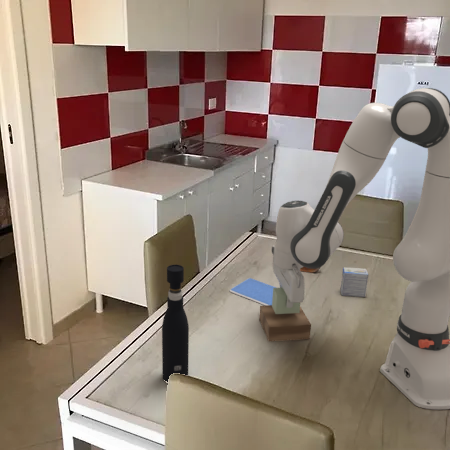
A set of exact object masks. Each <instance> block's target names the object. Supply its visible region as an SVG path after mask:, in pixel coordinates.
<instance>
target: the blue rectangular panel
mask: <svg viewBox="0 0 450 450" xmlns="http://www.w3.org/2000/svg"><path fill="white" fill-rule="evenodd" d="M273 288H278V287H276V286H274V285H270V284H267V283H266V282H263V281H260V280H257V279H254V278H251V277H248V278H246V279H245V280H243V281H242V282H240V283H239V284H237V285H235V286H233V287H232V288H230V289H229V293H231V294H234V295H237V296H240V297H242V298H245V299H248V300H249V301H252V302H255V303H258V304H260V305H261V306H266V305H272V298H273Z"/></svg>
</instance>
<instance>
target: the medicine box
mask: <svg viewBox="0 0 450 450" xmlns="http://www.w3.org/2000/svg"><path fill="white" fill-rule="evenodd" d="M368 281H369V273H368V270H367V268H360V267H347V266H346V267H342V274H341V280H340V294H341V296H346V297H359V298H361V297H362V298H366V297H367V296H366V295H367V287H368Z"/></svg>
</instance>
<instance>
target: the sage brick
mask: <svg viewBox="0 0 450 450" xmlns="http://www.w3.org/2000/svg"><path fill="white" fill-rule="evenodd" d="M286 300H287V295H286V293H285V292H284V290H283V288H280V287H277V288H273V298H272V308H273V310H274V312H275V314H288V313H300V307H301V303H293V307H292V308H287V306H286Z"/></svg>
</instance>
